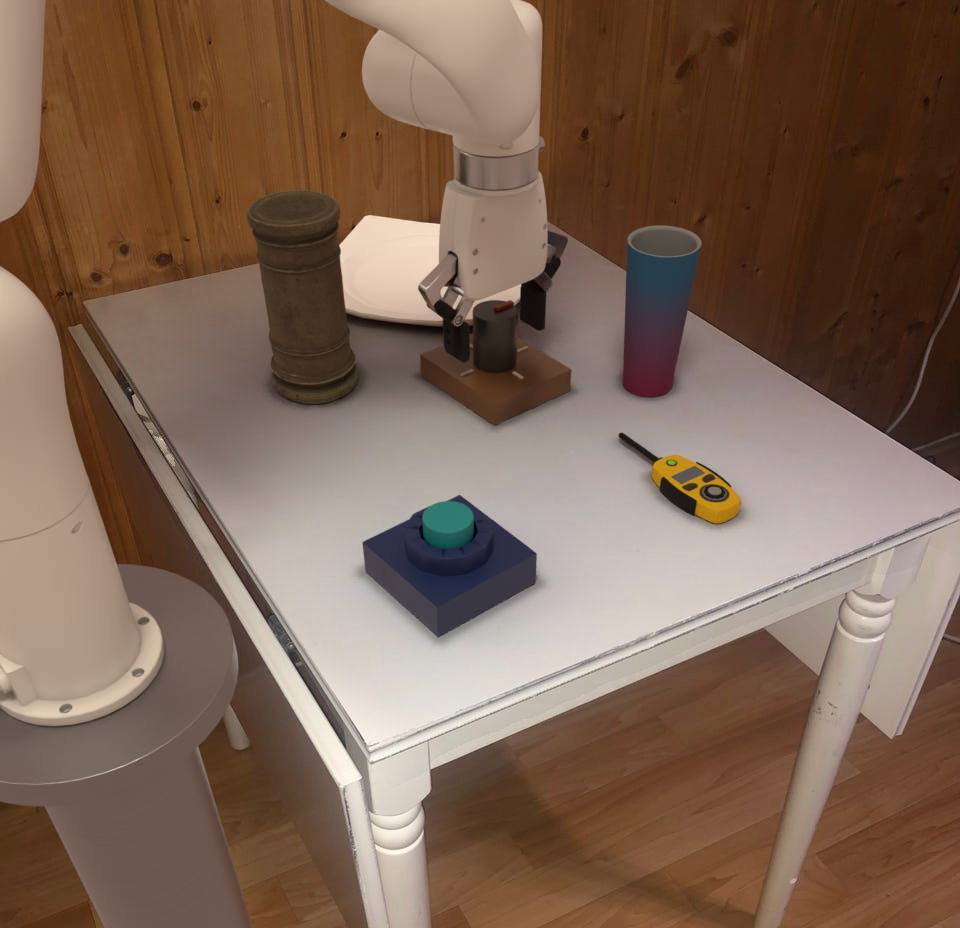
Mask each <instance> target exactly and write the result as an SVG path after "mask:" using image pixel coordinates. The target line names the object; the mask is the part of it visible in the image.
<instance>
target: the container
mask: <svg viewBox="0 0 960 928" xmlns="http://www.w3.org/2000/svg"><path fill="white" fill-rule="evenodd" d="M340 218H341V209H340V205H339V203H338V202H337V201H336V199H335V198H333V197H332V196H330V195H328V194H326V193H322V192H320V191H313V190H305V189H299V190H298V189H297V190H295V189H294V190H283V191H278V192H273V193H270V194H266V195H263V196H262V197H259V198H257V199H256V200H254V201H253V202H252V203H251V204H250V205H249V207H248V209H247V214H246V220H247V221H246V222H247V223H248V225H249V227H250V229H251V231H252V236H253V238H254V241H255V244H256V249H257V250H256V255H255V257H256V260H257V262H258V265H259V271H260V272H259V273H260V277H261V284H262V291H263V295H264V301H265V308H266V315H267V316H266V317H267V320H268V322H267V323H268V329H269V330H268V341H269V343H270V347H271V353H272V356H271V359H270V362H269V363H270V365H269V366H270V369H271V375H270V376H271V378H270V379H271V383H272V386H273V388H274V389H275V391H276V393H277V394H279V396H281V397H282V398H284V399H286V400H288V401H291V402H294V403H300V404H305V405H306V404H307V405H320V404H326V403H331V402H333V401H336V400H339V399H341V398H343V397H345V396H346V395H348V394H349V393H351V392H352V391H353V390H354V388H355V387H356V386H357V383H358V380H359V368H358V365H357V362H356V361H357V359H356V354H355V352H354V350H353V349H352V347H351V339H350V335H351V330H350V327H349V324H348V319H347V313H346V310H345V301H344V291H343V280H342V272H341V264H340V254H341V249H340V246H339V245H340V244H339V239H338V233H339V227H340V224H339V220H340Z"/></svg>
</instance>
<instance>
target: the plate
mask: <svg viewBox="0 0 960 928" xmlns="http://www.w3.org/2000/svg"><path fill="white" fill-rule="evenodd" d="M439 233H440V223H433V222H421V221H414V220H407V219H400V218H394V217H385V216H380V215H379V216H378V215H371V214H368V215H365V216H364V217H363V218H362V219H361V220H360V221H359V222H358V223H357V224H356V226H355V227H354V228H353V229H352V230H351V231H350V232H349V234H348V235H347V236H346V237H345V238H344V239H343V240H342V241H341V243H340V244H339V246H340V249H341V254H340V264H341V272H342V280H343V291H344V301H345V310H346V315H347V314H348V315H350V316H354V317H357V318H361V319H368V320H375V321H383V322H388V323H389V322H391V323H397V324H398V323H399V324H409V325H417V326H418V325H419V326H429V327H443V318H442V317H440V316H439V315H437V314H436V313H435V312H434V311H432V310H431V309H430V308H428V307H427V303H426V302H425V300H424V299H423V297H422V295H421V294H420V292H419V290H418V286H419V284H420V283H421V282H422V281H423V280H424V278H425V277H426V276H427V275H428V274H429V273H430V272H431V271H432V270H433V269H434V268H435V267H436V266H437V265H438V264H439ZM447 288H448V287H444V286H443V287H442V289H441V291H440V294H441V296H442V298H443V296H444V294H445V292H446V290H447ZM461 288H462V287H461ZM520 288H521V284H520V285H517V286H515V287H512V288H510V289H507V290H505V291H502V292H500V293H497V294H494V295H492V296H489V297H486V298H484V299H481V300H477V301H474V303H473V305H472V307H471V309H470V311H469V312H468V314H467V316H466V318H465V320H464V321H465V322H466V323H468V325H469V326H473V308H474V307H475V306H476V305H477V304H479V303H481V302H485V301H490V300H500V301H506V302H507V301H509V300H511V301H513V302H514V306H516V305H517V304H518V303H520ZM462 289H464V288H462ZM461 298H462V296H460V295H459V296H458V297H457V299H456V301H455V303H454V305H453V307H452V308H454V309H456V307H457V305H458V303H459V302H460V300H461Z"/></svg>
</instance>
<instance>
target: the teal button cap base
mask: <svg viewBox="0 0 960 928" xmlns="http://www.w3.org/2000/svg"><path fill="white" fill-rule="evenodd" d="M447 501H454V502H459V503H462V504H464V505H466V506H467V507H469V508H470V509H471V511H472V512H473V516H474V535H473V538H472V540H471V541H470V542H469V543H468V544H466V545H464V546H462V547H459V548H449V549H443V548H439V547H435V546H431V545H429V544H428V543H427V542H426V541H425V539H424V536H423V520H422V516H423V513H424V511H425V510H426V509H427V508H428V507H429V506H427V507H425V508H422V509H420V510H419V511H416V512H414V513H413V514H412V515H411V516H410V517H409V519H406V520H405V521H403V522H401V523H398V524H396V525H394V526H392V527H390V528H388V529H386V530H384V531H382V532H380V533H378V534H376V535H374V536H372V537H370V538H368V539H365V540H363V541H362V550H363V551H362V553H363V560H364V571H365V573H366V574H368V575H369V577H370V578H372V579H373V580H375V582H376V583H377V584H379V585H380V587H382V588H383V589H384V590H385V591H386V592H387V593H389V595H391V596H392V597H393V598H394V599H395V600H396V601H397V602H398V603H400V604H401V605H402V606H403V608H405V609H407V610H408V611H409V612H410V613H411V614H412V615H413V616H414V617H415V618H416V619H417V620H419V621H420V622H421V624H423V625H424V627H426V628H427V629H429V631H430V632H432V633H433V634H434V635H435V636H436V637H438V638H440V637H441V636H443V635H445V634H447V633H449V632H451V631H452V630H454V629H456V628H458V627H460V626H461V625H463V624H465V623H466V622H469V621H470V620H472V619H474V618H476V617H478V616H479V615H481V614H483V613H485V612H486V611H488V610H490V609H492V608H494V607H495V606H497V605H499V604H501V603H503V602H505V601H506V600H508V599H510V598H512V597H514V596H515V595H518V594H519V593H521V592H523V591H524V590H526V589H527V588H530V587H532V586H533V585H536V581H537V563H538V561H537V560H538V559H537V557H538V553H537V552H536V551H534V550H533V549H532V548H531V547H529V546H528V545H526V544H525V543H524V542H523V541H522V540H520V539H518V537H516V536H515V535H513V534H512V533H511V532H509V530H507V529H506V528H504V527H503V526H501V524H499V523H498V522H497V521H495V520H494V519H493V518H492V517H490V516H489V515H487V514H486V513H484V512H483V511H482V510H481V509H479V507H477V506H475V505H474V504H472V502H470V501H469V500H468V499H466V498H465V497H463V496H462V495H461V494H458V495H456V496H454V497H452V498H450V499H448V500H447Z"/></svg>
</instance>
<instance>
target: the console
mask: <svg viewBox="0 0 960 928" xmlns="http://www.w3.org/2000/svg"><path fill="white" fill-rule="evenodd" d="M469 342H470V358H469V361H467V362H464V363H463V362H461V361H459V360H458V359H456V358H455V357H453V356H452V355H450V354H449V353H447V352H446V350H445V347H444V344H443V345H440V346H437V347H435V348H433V349H430V350H428V351H425V352H422V353H420V354H419V358H420V361H419V362H420V377H422V378H423V379H425V380H427V381H428V382H429V383H431V384H432V385H434V386H435V387H437V388H438V389H440V390H441V391H442V392H444V393H445V394H447V395H448V396H450V397H452V398H453V399H454V400H456V401H457V402H458V403H460V404H462V405H463V406H464V407H466V408H468V409H469V410H470V411H472V412H474V413H475V414H476V415H478V416H480V417H481V418H482V419H484V420H485V421H487V422H488V423H490V424H492V426H497V425H499V424H502V423H504V422H506V421H508V420H509V419H512V418H515V417H517V416H518V415H520V414H523V413H525V412H528V411H530V410H532V409H534V408H537V407H538V406H540V405H543V404H545V403H547V402H549V401H551V400H554V399H556V398H558V397H560V396H562V395H564V394H567V393H569V392H571V381H572V369H571V368H570V367H568V366H567V365H564V364H563V363H561V362H560V361H558V360H557V359H554V358H553V357H551V356H550V355H548V354H546V353H545V352H543V351H541V350H539V349H538V348H536V347H534V346H533V345H531V344H530V343H528V342H526V341H525V340H523V339H521V338H519V337H518V336H517V362H516V364H515V366H514V367H513V368H511V369H509V370H507V371H503V372H487V371H483V370H481V369H479V368H477V367H476V366H475V365H474V363H473V332H472V333H469Z"/></svg>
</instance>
